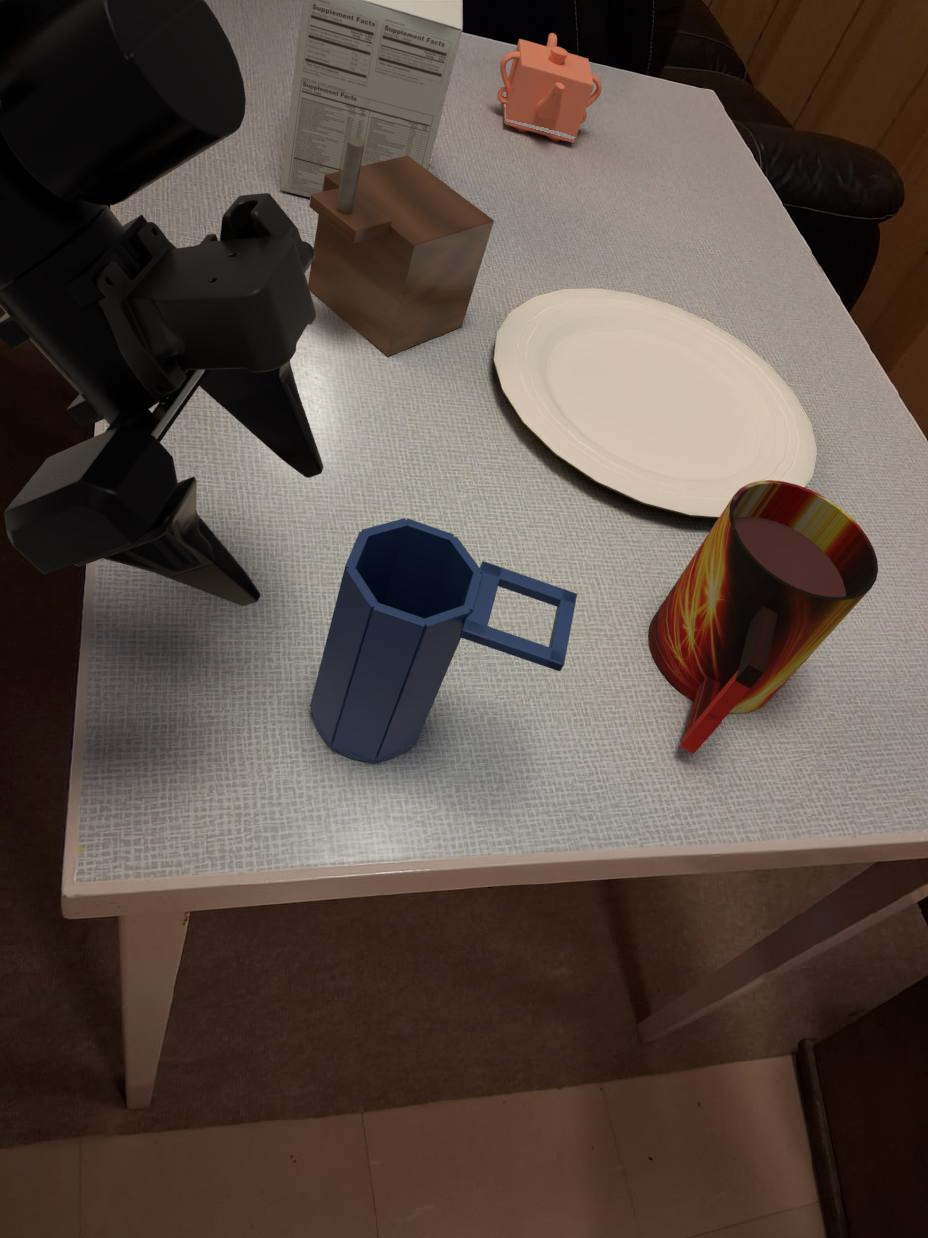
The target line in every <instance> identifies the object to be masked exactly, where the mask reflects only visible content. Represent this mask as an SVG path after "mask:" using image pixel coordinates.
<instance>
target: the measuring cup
mask: <svg viewBox="0 0 928 1238" xmlns="http://www.w3.org/2000/svg"><path fill="white" fill-rule="evenodd" d="M498 588H501V589H506V590H508V591H510V592H514V593H516V594H520V595H522V596H524V597H528V598H531V599H534V600H536V601H540V602H543V603H545V604H548V605H551V606H554V607H556V610H555V615H554V620H553V623H552V629H551V634H550V639H549V644H548V646H547V645H545V644H542V643H538V642H536V641H533V640H529V639H526V638H523V637H521V636H518V635H515V634H513V633H509V632H507V631H503V630H500V629H497V628H495V627H491V626H489V621H490V620H491V619H490V618H491V614H492V611H493V607H494V603H495V599H496V596H497V592H498ZM577 597H578V593H576V592H573V591H572V590H571V591H570V590H567V589H565V588H562V587H560V586H557V585H553V584H550V583H548V582H545V581H542V580H539V579H536V578H534V577H530V576H527V575H525V574H522V573H520V572H517V571H513V570H511V569H507V568H505V567H502V566H499V565H496V564H493V563H491V562H487V561H485V560H482V561H481V562H480V566H479V565H478V564H477V562H476V561H475V559H474V558H473V557H472V555H471V554H470V552H469V551H468V550H467V549H466V547H465V546H464V544H463V543H462V542H461V540H460V539H459V537H457V536H455V534H454V533H451V532H448V531H445V530H442V529H440V528H437V527H434V526H431V525H428V524H425V523H422V522H420V521H417V520H413V519H410V518H407V519H406V518H400V519H397V520H392V521H389V522H385V523H382V524H381V523H380V524H377V525H374V526H371V527H367V528H364V529H363V528H362V530H361V531H359V532H358V534H357V537H356V539H355V541H354V544H353V546H352V548H351V551H350V554H349V555H348V558H347V561H346V563H345V565H344V569H343V573H342V577H341V581H340V584H339V589H338V593H337V597H336V601H335V605H334V610H333V613H332V616H331V620H330V625H329V628H328V633H327V637H326V641H325V645H324V649H323V653H322V657H321V661H320V665H319V667H318V673H317V676H316V681H315V685H314V688H313V693H312V696H311V697H312V698H311V701H310V705H309V707H310V709H309V710H310V712H311V714H312V719H313V723H314V726H315V728H316V730H317V732H318V734H319V735H320V737H321V738H322V739H323V741H324V742H325V743H326V744H327V745H328V746H329V747H330V748H332V749H333V750H335V751H336V752H337V753H339V754H341V755H343V756H345V757H347V758H350V759H353V760H356V761H360V762H368V763H369V762H371V763H374V762H375V763H376V762H383V761H388V760H391V759H393V758H396V757H398V756H400V755H402V754H403V753H404V752H406V751H407V750H408V749H409V748H410V747H413V746H415V744H416V743H417V742H418V741H419V737H420V735H421V733H422V730H423V728H424V726H425V723H426V721H427V719H428V717H429V714H430V712H431V710H432V707H433V705H434V703H435V700H436V698H437V696H438V693H439V691H440V688H441V686H442V684H443V681H444V679H445V676H446V674H447V672H448V670H449V667H450V665H451V664H452V660H453V659H454V656H455V654H456V651H457V648H458V647H459V644H460V642H461V639H464V640H466V641H469V642H472V643H475V644H478V645H480V646H484V647H486V648H488V649H489V648H490V649H493V650H496V651H499V652H501V653H504V654H507V655H510V656H513V657H517V658H519V659H521V660H525V661H528V662H531V663H534V664H537V665H539V666H542V667H545V668H549V669H550V670H554V671H557V672H561V671H562V670H563V668H564V666H565V664H566V663H565V662H566V657H567V651H568V645H569V642H570V641H569V640H570V635H571V630H572V624H573V619H574V613H575V608H576V604H577Z"/></svg>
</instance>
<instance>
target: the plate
mask: <svg viewBox="0 0 928 1238" xmlns="http://www.w3.org/2000/svg"><path fill="white" fill-rule="evenodd" d="M492 360H493V361H492V362H493V364H494V368H495V372H496V376H497V378H498V382H499V386H500V390H501V392H502V394H503V396H504V397H505V398H506V400H507V402H508V403H509V405H510V406H511V407H512V410H513V411H514V412H515V414H516V415H517V417H518V418H519V420H520V422H521V423H522V425H523V426H524V427H525V428H526V429H528V431H530V433H531V434H533V435H534V437H536V438H537V439H538V440H539V441H540V442H541V443H542V444H543V446H545V447H546V448H547V449H548V450H549V451H550V452H551V453H552V454H553V455H554V456H555V457H556V458H558V459H560V460H561V461H563V462H564V463H565V464H567V465H569V466H570V467H572V468H573V469H575V470H576V471H578V472H579V473H581V474H582V475H583V476H584V477H586V478H587V479H589V480H591V481H593V482H594V483H595V484H597V485H599V486H602V487H604V488H606V489H609V490H611V491H613V492H615V493H617V494H619V495H621V496H624V497H626V498H628V499H630V500H632V501H635V502H637V503H639V504H641V505H645V506H648V507H651V508H655V509H659V510H663V511H666V512H669V513H670V512H671V513H674V514H678V515H683V516H685V517H690V518H703V519H704V518H707V519H717V520H718V519H719V517H720V516H721V514H722V512H723V511H724V509H725V508H726V506H727V505H728V503H729V502H730V500H731V499H732V497H733V496H734V495H735V494H736V492H737V491H738V490H739V489H740V488H742V487H744V486H745V485H747V484H750V483H753V482H757V481H766V480H774V481H783V482H788V483H792V484H796V485H799V486H801V487H804V488H806V486H807V485H808V483H809V482H810V481H811V479H812V478H814V474H815V466H816V460H817V456H818V455H817V453H818V447H817V443H816V438H815V435H814V434H815V433H814V430H813V425H812V421H811V420H810V418H809V416H808V415H807V413H806V411H805V409H804V407H803V405H802V404H801V402H800V400H799V398H798V396H797V395H796V393H795V392H794V390H793V389H792V388H791V387H790V386H789V385H788V384H787V383H786V382H785V380H784V379H783V378H782V377H781V376H780V375H779V374H778V372H777V371H776V370H775V369H774V368H773V367H772V366H771V365H770V364H769V363H768V362H767V361H766V360H765V359H763V358H762V357H761V356H759V354H757V352H755V351H754V350H752V349H751V348H750V347H749V346H747V345H746V344H745V343H744V342H743V341H741V340H740V339H738V338H736V337H735V336H733V335H732V334H730V333H728V332H727V331H725V330H723V329H722V328H720V327H718V326H717V325H716V324H714V323H712V322H711V321H709V320H707V319H704V318H702V317H700V316H698V315H696V314H693V313H691V312H689V311H687V310H685V309H682V308H680V307H678V306H676V305H673V304H671V303H668V302H665V301H661V300H658V299H654V298H651V297H647V296H644V295H641V294H638V293H634V292H628V291H627V292H626V291H619V290H613V289H605V288H600V287H592V288H591V287H590V288H589V287H588V288H587V287H586V288H562V289H557V290H554V291H551V292H546V293H543V294H539V295H535V296H533V297H531V298H529V299H528V300H526V301H525V302H523V303H521V304H520V305H519V306H517V307H515V308H514V309H512V310H510V312H509V314H508V315H507V316H506V318H505V320H504V321H503V322H502V324H501V325H500V327H499V328H498V330H497V331H496V335H495V343H494V353H493V359H492Z"/></svg>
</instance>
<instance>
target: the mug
mask: <svg viewBox="0 0 928 1238" xmlns="http://www.w3.org/2000/svg"><path fill="white" fill-rule="evenodd" d="M878 574H879V562H878V557H877V554H876V551H875V548H874V546H873V544H872V543H871V541H870V538H869V537H868V535H867V534H866V532H865V531H864V530H863V528H862V527H861V525H860V524H859V523H858V522H856V520H855V519H854V518H852V517H851V516H850V514H849V513H847V512H846V511H845V510H844V509H842V508H841V507H840V506H839V505H837V504H836V503H834V502H833V501H832V500H830V499H828V498H827V497H825V496H823V495H821V494H820V493H817V492H815V491H814V490H811V489H810V488H807V487H801V486H799V485H796V484H792V483H788V482H783V481H774V480H766V481H757V482H753V483H750V484H747V485H745V486H744V487H742V488H740V489H739V490H738V491H737V492H736V494H735V495H734V496H733V497H732V499H731V500H730V502H729V503H728V505H727V506H726V508H725V509H724V511H723V512H722V514H721V516H720V517H719V519H718V518H717V519H716V521H715V523H714V524H713V526H712V528H711V529H710V531H709V532H708V533H707V535H706V537H705V538H704V540H703V541H702V543H701V544H700V546H699V547H698V549H697V550H696V551H695V553H694V555H693V556H692V558H691V559H690V561H689V562H688V564H687V565H686V567H685V569H684V570H683V572H682V573H681V574H680V576H679V577H678V579H677V581H676V582H675V584H674V585H673V587H672V588H671V590H670V591H669V593H668V594H667V596H666V597H665V598H664V600H663V602H662V603H661V604H660V606H659V608H658V609H657V611H656V612H655V613H654V615H653V617H652V619H651V622H650V624H649V627H648V634H647V638H648V648H649V650H650V654H651V656H652V660H653V661H654V663H655V665H656V667H657V668H658V670H659V672H660V673H661V674H662V676H663V677H664V678H665V680H666V681H667V682H668V683H670V684H671V685H672V686H673V687H674V688H675V690H677V691H678V692H679V693H681V694H682V695H683V696H685V697H686V698H687V699H689V700H690V701H693V703H692V705H691V710H690V713H689V717H688V720H687V725H686V728H685V732H684V735H683V738H682V740H681V743H680V746H679V747H680V748H681V749H683V750H685V751H687V752H689V753H691V754H692V755H695V754H696V753H697V752H698V751H699V749H700V748H701V747H702V746H703V745H704V744H705V742H706V741H707V740H708V739H709V738H710V737H711V736H712V734H713V733H714V732H715V731H716V730H717V729H718V727H719V726H720V725H721V724H722V723H723V721H724V719H725V718H726V717H728V715H729V714H745V713H750V712H754V711H756V710H759V709H761V708H762V707H764V706H765V705H766V704H767V703H768V702H770V700H772V699H773V697H774V696H775V695H776V694H777V693H778V692H779V691H780V690H781V688H782V687H783V686H785V684H786V683H787V682H788V681H789V680H790V679H791V677H792V676H794V674H795V673H796V672H797V671H798V670H799V669H800V667H802V665H803V664H804V663H805V662H806V661H807V660H808V659H809V658H810V656H812V655H813V654H814V652H815V651H816V650H817V649H818V648H819V647H820V645H821V644H822V643H823V642H825V640H826V639H827V638H828V637H829V636H830V635H831V634H832V633H833V631H834V630H836V628H837V627H838V626H839V625H840V623H841V622H842V621H843V620H844V619H846V617H847V616H848V615H849V613H851V611H853V609H854V608H855V607H856V606H857V605H858V604H859V602H861V600H862V599H863V598H864V597H865V596H866V595H867V594H868V593H869V592H870V591H871V589H872V588H873V586H874V585H875V583H876V582H877V578H878Z"/></svg>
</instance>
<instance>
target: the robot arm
mask: <svg viewBox="0 0 928 1238" xmlns="http://www.w3.org/2000/svg"><path fill="white" fill-rule="evenodd" d="M246 97H247V96H246V91H245V83H244V78H243V75H242V71H241V68H240V64H239V61H238V58H237V57H236V53H235V51H234V49H233V47H232V44H231V42H230V40H229V37H228V36H227V34H226V33H225V30H224V28H223V27H222V25H221V23H220V21H219V20H218V18H217V17H216V15H215V13H214V12H213V11H212V9H211V7H210V6H209V4H208V3H207V1H205V0H0V308H1V309H2V310H3V311H4V312H5V313H4V314H3V316H1V317H0V340H1V341H2V342H3V343H4V344H5V346H6V347H7V348H8V349H9V350H11V349H13V348H15V347H17V346H18V345H20V344H22V343H24V342H26V341H28V340H30V341H31V342H32V343H33V345H35V347H36V348H37V349H38V350H39V351H40V352H41V353H42V354H43V355H44V357H45V358H46V359H47V360H48V361H49V362H50V364H52V365H53V366H54V367H55V369H56V370H57V371H58V372H59V373H60V374H61V376H63V377H64V379H65V380H66V381H67V382H68V384H70V385H71V387H72V388H73V389H74V390H75V391H76V392H77V393H78V395H77V396H76V398H75V399H74V400H73V401H72V402H71V403H70V405H69V406H68V407H67V409H66V412H68V414H69V415H70V416H71V417H72V418H73V419H74V420H75V421H76V422H77V423H78V425H80V427H81V428H82V429H86V428H88V427H90V426H92V425H94V424H96V423H99V422H100V421H103V420H105V421H106V423H107V424H108V425H109V426H108V427H107V429H106V430H105V431H104V432H101V433H100V434H98V435H95V436H92V437H91V438H89V439H87V440H83V441H82V442H80V443H77V444H75V445H73V446H71V447H69V448H66V449H64V450H62V451H59V452H57V453H55V454H52V455H50V456H48V457H46V459H45V461H43V463H42V464H41V465H40V467H39V468H38V469H37V470H36V472H34V474H33V475H32V477H31V478H30V479H29V480H28V482H26V484H25V485H24V487H23V488H22V489H21V491H19V492H18V494H17V495H16V496H15V498H14V499H13V500H12V502H11V503H10V504H9V505H8V506H7V508H6V509H4V511H3V517H4V524H5V530H6V536H7V538H8V539H9V542H10V543H11V545H12V547H13V548H14V549H15V550H16V551H18V552H19V554H21V555H22V556H23V557H24V558H25V559H27V561H28V562H29V563H31V564H32V565H33V566H34V567H35V568H36V569H37V570H38V571H39V572H40V573H41V574H42V575H44V576H46V575H48V574H51V573H55V572H57V571H60V570H62V569H66V568H68V567H71V566H75V567H82V566H85V565H88V564H92V563H93V562H97V561H99V560H102V559H103V560H107V561H109V562H113V563H117V564H122V565H124V566H129V567H132V568H135V569H140V570H143V571H147V572H151V573H154V574H156V575H158V576H162V577H165V578H166V579H167V578H168V579H170V580H173V581H176V582H178V583H181V584H183V585H186V586H188V587H191V588H194V589H196V590H199V591H201V592H204V593H207V594H210V595H212V596H215V597H217V598H220V599H223V600H225V601H227V602H230V603H233V604H236V605H238V606H242V607H246V606H249V605H253V604H256V603H258V602H259V600H260V598H261V592H260V591H259V589H258V588H257V586H256V585H255V583H254V582H253V580H252V578H251V577H250V576H249V574H248V573H247V571H246V570H245V569H244V567H242V565H241V564H240V563H239V562H238V560H237V559H236V558H235V557H234V556H233V554H231V552H230V551H229V550H228V549H227V548H226V546H225V545H224V544H223V542H222V541H221V540H220V539H219V538H218V537H217V536H216V534H215V533H214V532H213V531H212V529H211V528H210V527H209V526H208V525H207V523H205V521H204V520H203V519H202V518H201V516H200V514H199V513H198V511H197V497H198V496H197V491H198V490H197V489H198V488H197V487H198V484H197V483H198V482H197V478H196V477H195V476H191V477H189V478H187V479H183V480H181V481H178V477H177V476H178V475H177V471H176V466H175V461H174V456H173V455H172V454H171V453H170V452H169V451H168V449H167V448H165V446H164V445H163V444H162V443H161V442H162V440H163V439H164V437H165V436H166V435H167V433H168V432H169V430H170V429H171V427H172V426H173V424H174V423H175V421H176V420H177V419H178V417H179V416H180V414H181V413H182V411H183V410H184V408H185V407H186V406H187V404H188V403H189V401H190V400H191V399H192V397H193V395H194V394H195V392H196V391H197V390H198V388H199V387H200V388H201V389H202V390H203V391H204V392H205V393H206V394H207V395H209V397H211V398H212V399H213V401H215V402H217V404H219V405H220V406H221V407H222V408H223V409H224V410H226V411H227V412H228V413H229V414H230V415H231V416H232V417H234V418H235V419H236V421H238V422H239V423H240V424H241V425H242V426H244V427H245V428H246V429H247V430H248V431H249V432H250V433H252V434H253V435H254V436H255V437H256V438H257V439H258V440H259V441H261V442H262V444H263V445H265V446H266V447H267V448H268V449H269V450H270V451H272V452H273V453H274V454H275V455H276V456H277V457H278V458H279V459H280V460H282V461H283V462H284V463H285V464H287V465H288V466H290V468H292V469H293V470H295V471H296V472H298V473H299V474H300V475H302V476H303V477H304V478H306V479H307V478H308V479H310V478H313V477H316V476H319V475H321V474H322V472H323V470H324V469H325V468H324V464H323V461H322V458H321V454H320V451H319V449H318V446H317V443H316V441H315V437H314V434H313V431H312V428H311V425H310V422H309V419H308V416H307V414H306V411H305V408H304V405H303V402H302V399H301V396H300V393H299V390H298V386H297V383H296V379H295V375H294V371H293V368H292V364H291V360H292V358H293V357H294V355H295V354H296V352H297V344H298V342H299V340H300V338H301V336H302V335H303V333H304V332H305V330H306V329H307V327H308V326H311V325H313V324H314V322H315V321H316V318H317V316H318V315H317V311H316V308H315V307H316V306H315V304H314V301H313V296H312V294H311V293H312V292H311V291H310V290H309V287H308V280H307V277H306V273H307V271H309V269H310V268H311V264H312V262H313V260H314V259H315V250H314V246H312V244H310V243H309V242H307V241H306V240H305V241H304V240H302V238H301V235H300V230H299V228H298V227H297V226H296V224H295V223H294V222H293V221H292V219H291V218H290V217H289V216H288V215H287V213H286V212H285V211H284V209H283V208H282V207H281V206H280V205H279V203H278V202H277V201H276V200H275V198H274V197H273V195H271V193H269V192H263V193H262V192H261V193H253V194H242V195H239V196H238V197H236V199H235V200H234V201H233V203H232V204H231V205H230V206H229V207H228V208H227V209H226V211H225V212H224V213H223V215H222V218H221V226H220V233H219V234H220V235H219V239H218V236H217V234H216V233H209V234H206V236H205V237H204V238H203V239H202V240H201V242H200V243H199V244H196V245H193V246H183V247H176V246H175V244H173V243H172V242H171V241H170V240H169V239H168V238H167V236H166V235H165V233H164V232H163V230H161V228H160V226H158V225H157V224H156V223H155V222H153V221H148V220H147V219H146V218H145V217H144V215H143V214H140V215H138V216H137V217H135V218H134V219H132V220H130V221H128V222H127V223H125V224H122V222H120V221H119V219H118V218H117V216H116V215H115V214H114V212H113V211H112V210H111V208H110V207H109V206H115V205H117V204H120V203H123V202H124V201H127V200H128V199H129V198H131V197H133V196H134V195H136V194H137V193H139V192H141V191H142V190H144V189H146V188H147V187H149V186H150V185H152V184H154V183H156V182H157V181H159V180H160V179H162V178H163V177H165V176H168V174H170V173H171V172H173V171H175V170H177V169H178V168H179V167H181V166H183V165H184V164H186V163H187V162H190V161H191V160H192V159H193V158H196V157H198V156H199V155H201V154H202V153H204V152H205V151H207V150H209V149H210V148H212V147H213V146H215V145H216V144H219V143H220V142H222V141H223V140H225V139H226V138H228V137H229V136H231V135H233V134H234V133H235V132H237V131H238V130H239V129H240V128H241V126H242V123H243V121H244V119H245V116H246V106H247V105H246V103H247V98H246ZM154 406H156V407H154ZM152 407H154V409H153V410H152V411H151V410H150V409H152Z"/></svg>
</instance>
